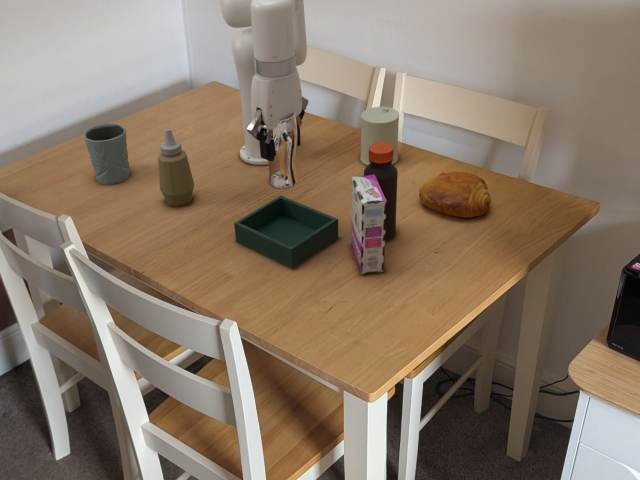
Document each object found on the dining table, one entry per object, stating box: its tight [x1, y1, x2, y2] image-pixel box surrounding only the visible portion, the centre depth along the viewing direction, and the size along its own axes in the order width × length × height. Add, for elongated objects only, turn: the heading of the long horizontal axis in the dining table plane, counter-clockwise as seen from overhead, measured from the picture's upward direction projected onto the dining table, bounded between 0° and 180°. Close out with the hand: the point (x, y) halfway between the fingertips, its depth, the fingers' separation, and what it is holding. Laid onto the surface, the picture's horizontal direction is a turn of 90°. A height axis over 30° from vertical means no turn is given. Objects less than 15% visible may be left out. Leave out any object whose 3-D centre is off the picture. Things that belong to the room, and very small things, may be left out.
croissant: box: [418, 170, 491, 219], centre depth 176 cm, size 14×16×8 cm
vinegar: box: [363, 143, 399, 241], centre depth 165 cm, size 7×7×20 cm
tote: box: [233, 195, 340, 270], centre depth 170 cm, size 15×17×5 cm
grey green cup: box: [83, 123, 131, 185], centre depth 198 cm, size 10×10×12 cm
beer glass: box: [263, 112, 298, 190], centre depth 159 cm, size 7×7×15 cm
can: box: [359, 106, 400, 166], centre depth 193 cm, size 9×9×12 cm
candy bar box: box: [350, 175, 387, 275], centre depth 159 cm, size 11×5×16 cm, turn 5°
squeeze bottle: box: [157, 128, 195, 207], centre depth 183 cm, size 8×8×18 cm
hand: (280, 150), depth 159 cm, fingers closed on beer glass, 7 cm apart
